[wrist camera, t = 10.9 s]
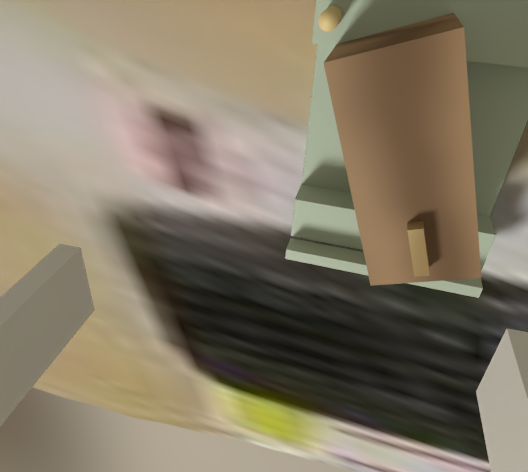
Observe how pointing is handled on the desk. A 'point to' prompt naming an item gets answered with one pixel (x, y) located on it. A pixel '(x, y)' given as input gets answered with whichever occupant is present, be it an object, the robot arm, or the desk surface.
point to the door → (409, 150)
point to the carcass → (481, 115)
